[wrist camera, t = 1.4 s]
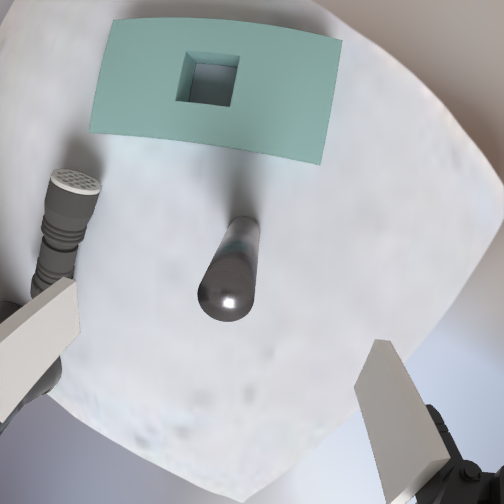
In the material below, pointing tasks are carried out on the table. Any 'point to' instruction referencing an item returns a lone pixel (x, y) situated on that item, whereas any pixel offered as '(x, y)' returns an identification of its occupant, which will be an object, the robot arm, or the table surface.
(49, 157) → the table surface
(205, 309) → the peg
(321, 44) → the hole block
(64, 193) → the flashlight
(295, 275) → the table surface
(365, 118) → the table surface
